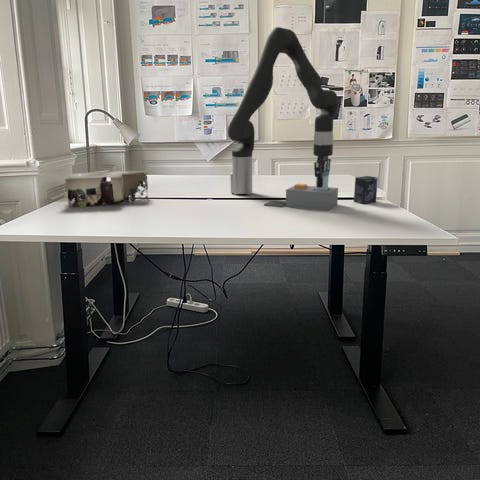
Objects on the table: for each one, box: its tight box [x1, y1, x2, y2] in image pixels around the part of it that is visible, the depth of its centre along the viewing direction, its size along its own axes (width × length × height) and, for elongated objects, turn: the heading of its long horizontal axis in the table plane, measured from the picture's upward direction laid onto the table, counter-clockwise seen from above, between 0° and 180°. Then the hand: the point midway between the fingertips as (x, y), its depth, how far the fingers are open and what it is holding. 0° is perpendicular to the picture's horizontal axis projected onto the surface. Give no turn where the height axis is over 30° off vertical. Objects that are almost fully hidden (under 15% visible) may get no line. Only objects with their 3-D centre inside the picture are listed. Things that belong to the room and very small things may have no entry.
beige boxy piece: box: [65, 170, 149, 208], centre depth 208 cm, size 18×32×13 cm, turn 97°
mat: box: [263, 200, 286, 208], centre depth 203 cm, size 8×8×1 cm
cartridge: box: [315, 171, 330, 191], centre depth 196 cm, size 5×5×12 cm
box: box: [353, 175, 379, 205], centre depth 204 cm, size 8×6×11 cm
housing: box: [285, 185, 339, 211], centre depth 199 cm, size 18×12×7 cm, turn 63°
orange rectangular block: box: [294, 183, 308, 189], centre depth 201 cm, size 4×4×5 cm
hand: (321, 185), depth 196 cm, fingers closed on cartridge, 5 cm apart
